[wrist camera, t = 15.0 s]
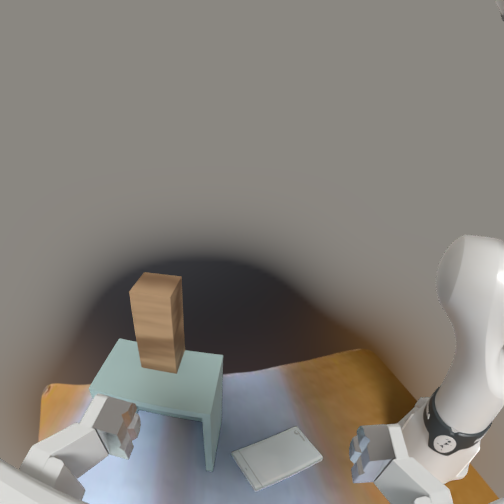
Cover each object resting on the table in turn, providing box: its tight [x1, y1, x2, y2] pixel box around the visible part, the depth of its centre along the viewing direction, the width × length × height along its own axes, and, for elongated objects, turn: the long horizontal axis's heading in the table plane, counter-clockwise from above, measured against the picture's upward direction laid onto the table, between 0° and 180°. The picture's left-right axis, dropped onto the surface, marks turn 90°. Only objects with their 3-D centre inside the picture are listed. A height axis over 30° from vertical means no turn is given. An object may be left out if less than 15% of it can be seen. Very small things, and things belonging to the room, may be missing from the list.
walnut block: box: [129, 272, 185, 374], centre depth 39 cm, size 5×5×12 cm
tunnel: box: [89, 339, 223, 472], centre depth 41 cm, size 11×16×16 cm
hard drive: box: [231, 426, 323, 492], centre depth 42 cm, size 2×8×12 cm
